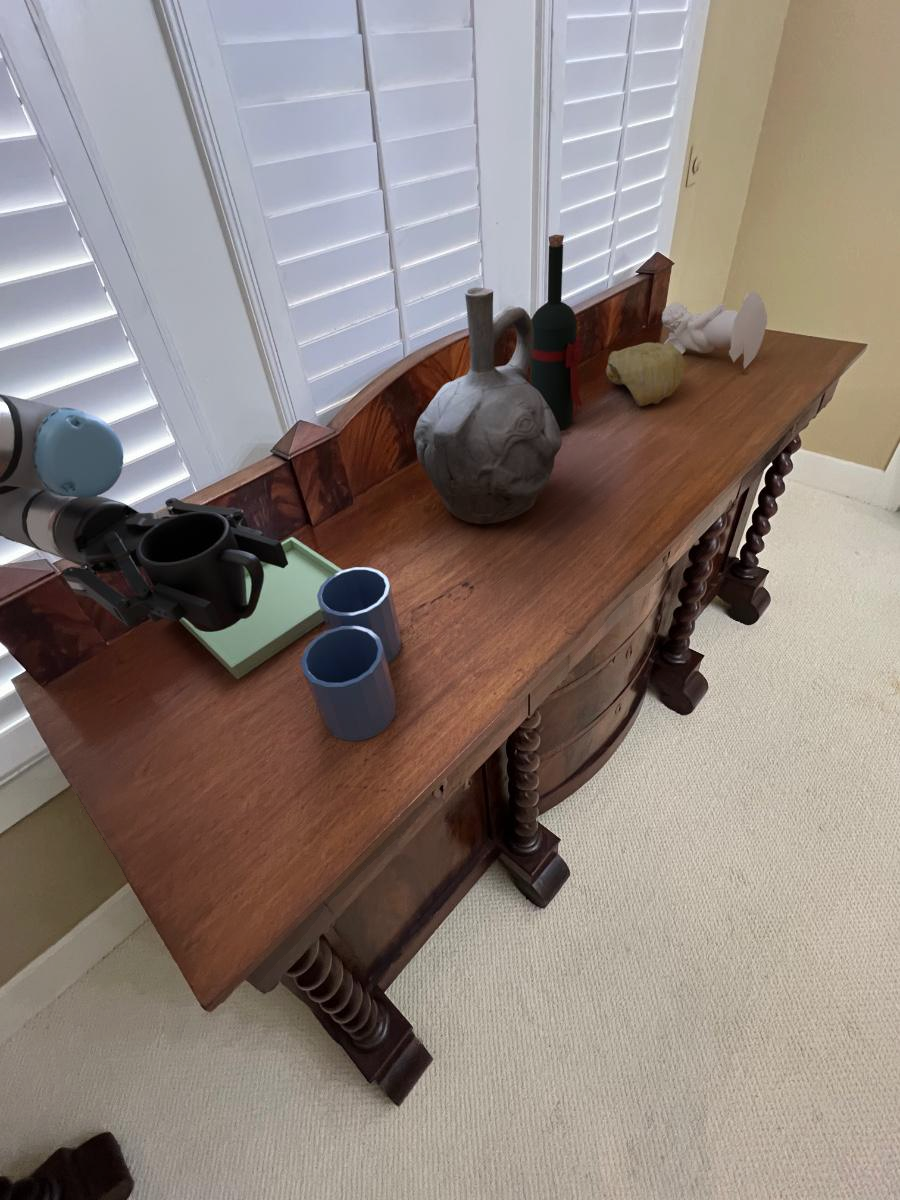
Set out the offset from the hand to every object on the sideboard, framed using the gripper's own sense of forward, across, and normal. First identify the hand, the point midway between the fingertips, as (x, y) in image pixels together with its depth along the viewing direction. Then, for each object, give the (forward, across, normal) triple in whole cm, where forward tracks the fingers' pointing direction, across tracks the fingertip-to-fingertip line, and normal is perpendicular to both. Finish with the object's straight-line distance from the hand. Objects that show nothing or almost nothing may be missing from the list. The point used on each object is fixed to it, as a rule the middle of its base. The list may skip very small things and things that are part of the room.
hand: (249, 584), depth 52 cm
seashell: (+13, -88, -18) cm, 91 cm away
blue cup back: (+2, -11, -18) cm, 21 cm away
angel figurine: (+21, -109, -18) cm, 112 cm away
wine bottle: (+3, -72, -18) cm, 74 cm away
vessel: (+3, -45, -18) cm, 48 cm away
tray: (-15, -12, -18) cm, 26 cm away
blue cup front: (+6, -2, -18) cm, 19 cm away
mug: (-5, 0, -6) cm, 8 cm away
